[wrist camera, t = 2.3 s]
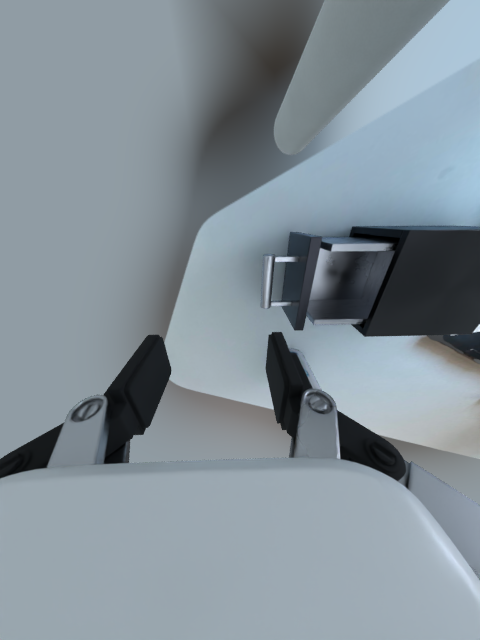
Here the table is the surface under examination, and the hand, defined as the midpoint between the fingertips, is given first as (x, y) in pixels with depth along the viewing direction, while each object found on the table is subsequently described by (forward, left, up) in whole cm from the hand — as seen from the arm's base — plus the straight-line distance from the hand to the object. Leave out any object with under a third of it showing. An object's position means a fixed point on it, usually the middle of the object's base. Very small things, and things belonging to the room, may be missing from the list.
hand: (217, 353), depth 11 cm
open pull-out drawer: (0, +14, -19) cm, 23 cm away
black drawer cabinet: (0, +26, -20) cm, 32 cm away
